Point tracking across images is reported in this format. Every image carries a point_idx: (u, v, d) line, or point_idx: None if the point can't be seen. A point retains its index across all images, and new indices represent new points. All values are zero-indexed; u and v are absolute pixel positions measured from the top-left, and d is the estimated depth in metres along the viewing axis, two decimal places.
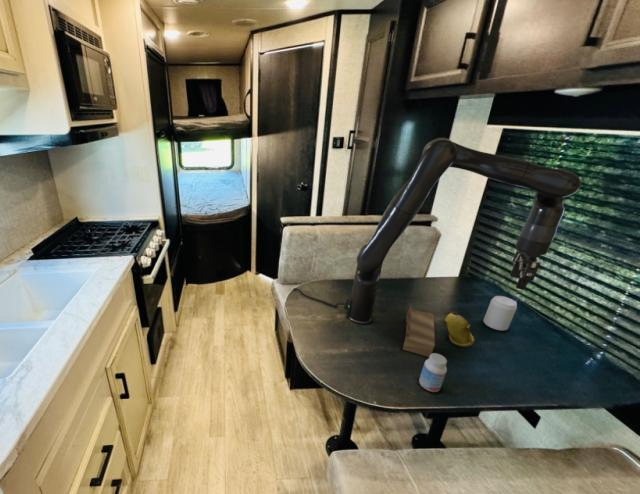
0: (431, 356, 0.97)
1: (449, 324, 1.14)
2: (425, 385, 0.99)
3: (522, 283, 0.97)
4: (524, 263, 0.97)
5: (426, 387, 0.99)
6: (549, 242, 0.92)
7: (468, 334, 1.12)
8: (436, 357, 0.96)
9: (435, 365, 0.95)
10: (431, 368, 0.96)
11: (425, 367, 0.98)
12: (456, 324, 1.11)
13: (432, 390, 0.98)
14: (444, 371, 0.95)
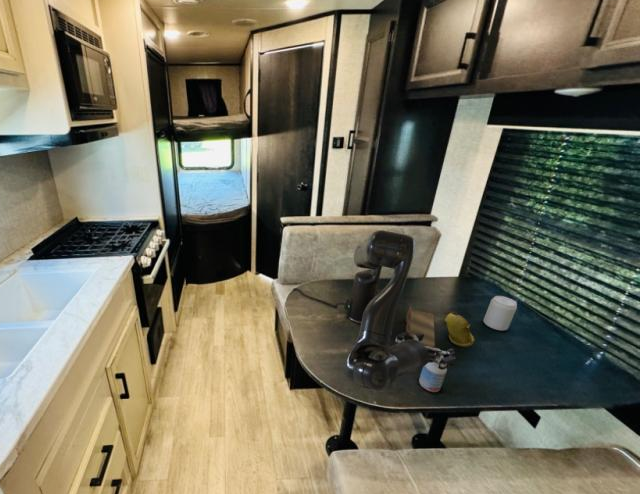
0: None
1: (449, 324, 1.14)
2: (425, 385, 0.99)
3: None
4: None
5: (426, 387, 0.99)
6: None
7: (468, 334, 1.12)
8: None
9: (435, 365, 0.95)
10: (431, 367, 0.96)
11: (425, 367, 0.98)
12: (456, 324, 1.11)
13: (432, 390, 0.98)
14: (444, 371, 0.95)
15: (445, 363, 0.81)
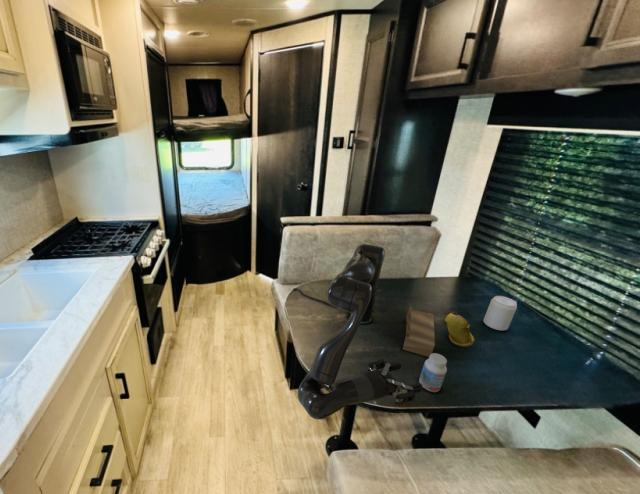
0: (431, 356, 0.97)
1: (449, 324, 1.14)
2: (425, 385, 0.99)
3: None
4: (381, 371, 0.96)
5: (426, 387, 0.99)
6: None
7: (468, 334, 1.12)
8: (436, 357, 0.96)
9: (435, 365, 0.95)
10: (431, 367, 0.96)
11: (425, 367, 0.98)
12: (456, 324, 1.11)
13: (432, 390, 0.98)
14: (444, 371, 0.95)
15: (400, 399, 0.87)
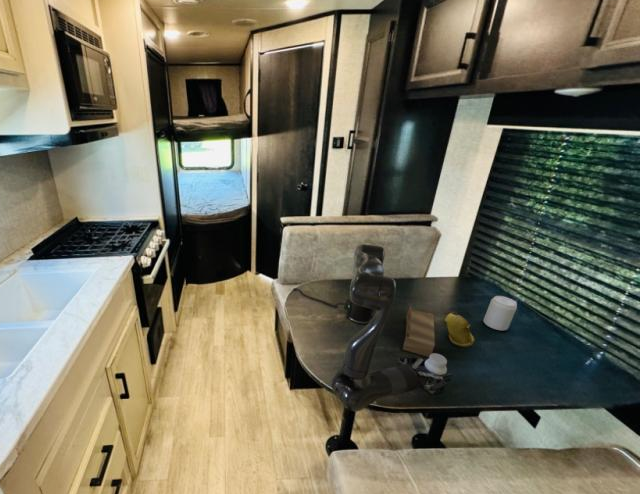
0: (431, 356, 0.97)
1: (449, 324, 1.14)
2: None
3: None
4: None
5: None
6: None
7: (468, 334, 1.12)
8: (436, 357, 0.96)
9: (435, 365, 0.95)
10: (431, 368, 0.96)
11: (425, 367, 0.98)
12: (456, 324, 1.11)
13: None
14: (444, 371, 0.95)
15: (434, 390, 0.90)
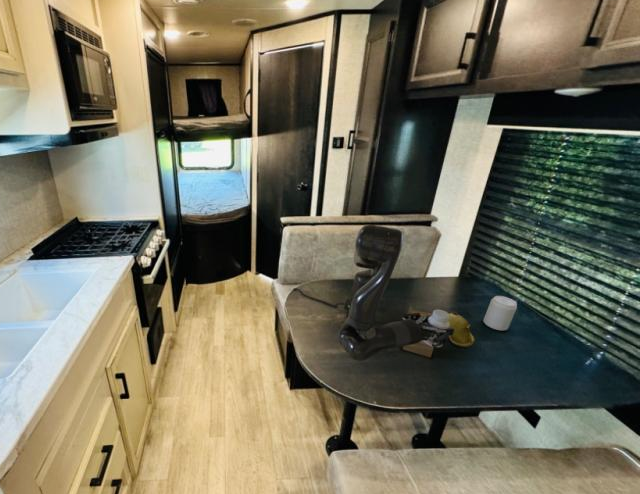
0: (434, 312, 0.99)
1: None
2: (428, 341, 1.01)
3: None
4: (415, 320, 1.01)
5: (429, 343, 1.01)
6: None
7: (468, 334, 1.12)
8: (439, 313, 0.99)
9: (438, 319, 0.97)
10: (434, 322, 0.98)
11: (428, 323, 1.00)
12: (456, 324, 1.11)
13: None
14: (447, 325, 0.97)
15: (437, 342, 0.93)
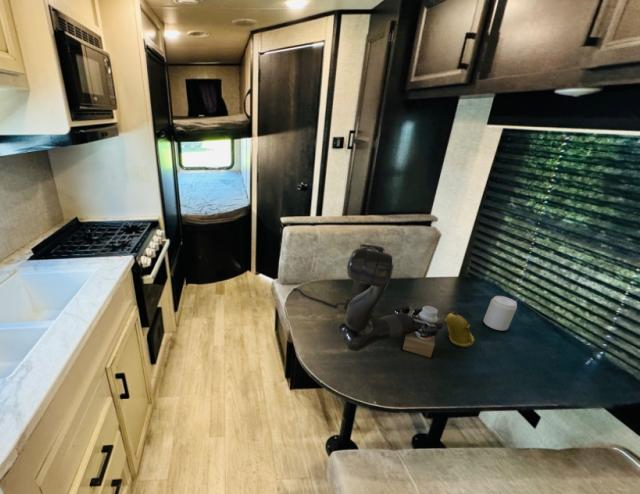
0: (424, 308, 1.10)
1: (449, 324, 1.14)
2: (419, 334, 1.12)
3: None
4: (407, 314, 1.12)
5: None
6: None
7: (468, 334, 1.12)
8: (428, 309, 1.10)
9: (427, 314, 1.08)
10: (423, 317, 1.09)
11: (418, 318, 1.11)
12: (456, 324, 1.11)
13: (425, 338, 1.11)
14: (435, 320, 1.08)
15: (425, 333, 1.03)
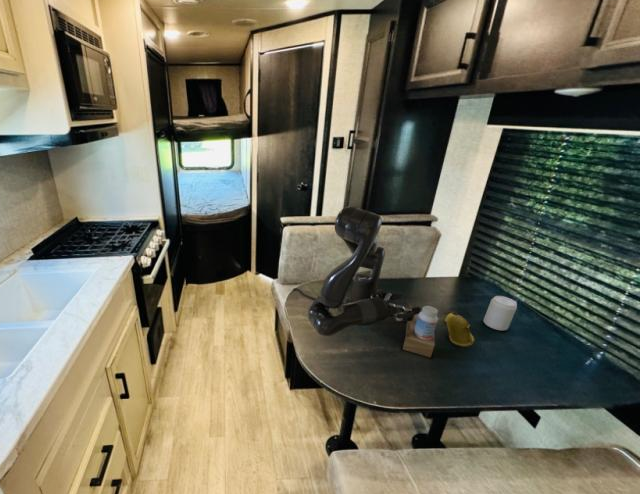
0: (424, 308, 1.10)
1: (449, 324, 1.14)
2: (419, 334, 1.12)
3: None
4: (383, 299, 1.05)
5: (420, 336, 1.12)
6: None
7: (468, 334, 1.12)
8: (428, 309, 1.10)
9: (427, 314, 1.08)
10: (424, 317, 1.09)
11: (418, 318, 1.11)
12: (456, 324, 1.11)
13: (425, 338, 1.11)
14: (435, 320, 1.08)
15: (400, 318, 0.96)
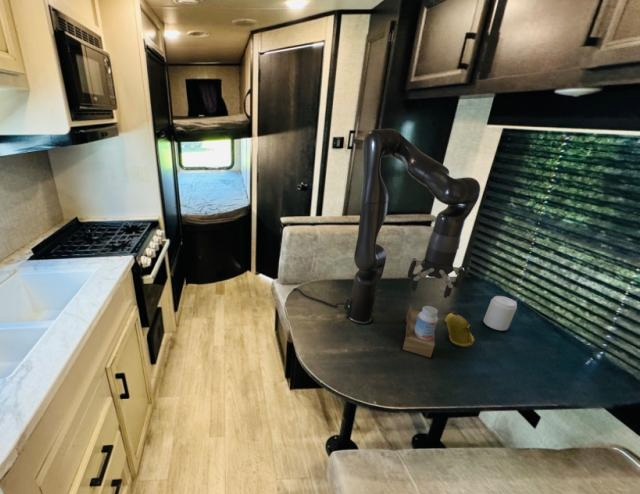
0: (424, 308, 1.10)
1: (449, 324, 1.14)
2: (419, 334, 1.12)
3: (412, 282, 1.00)
4: None
5: (420, 336, 1.12)
6: (432, 249, 0.91)
7: (468, 334, 1.12)
8: (428, 309, 1.10)
9: (427, 314, 1.08)
10: (424, 317, 1.09)
11: (418, 318, 1.11)
12: (456, 324, 1.11)
13: (425, 338, 1.11)
14: (435, 320, 1.08)
15: None
